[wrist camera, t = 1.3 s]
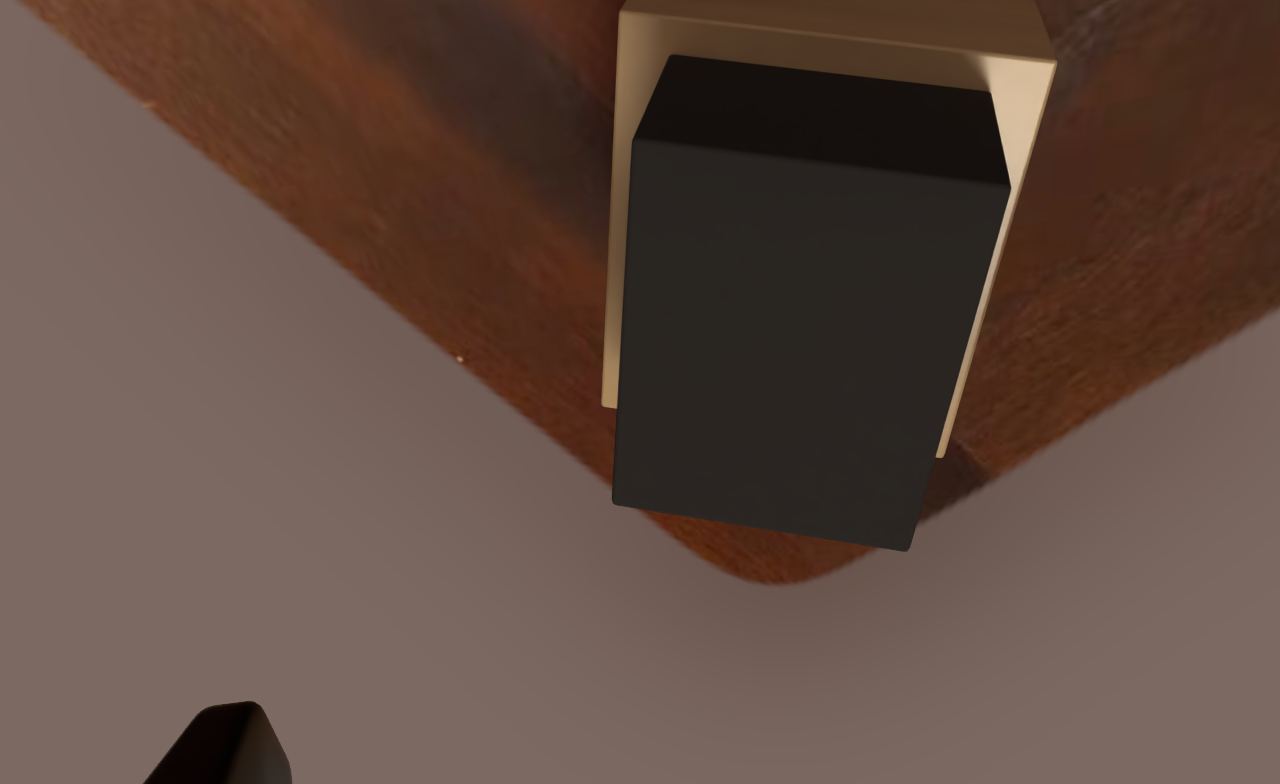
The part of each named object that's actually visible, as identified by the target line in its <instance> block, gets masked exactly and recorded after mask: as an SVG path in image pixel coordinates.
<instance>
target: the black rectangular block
mask: <svg viewBox="0 0 1280 784" xmlns="http://www.w3.org/2000/svg"><path fill="white" fill-rule="evenodd" d="M1011 189H1012V188H1011V183H1010V178H1009V173H1008V169H1007V164H1006V159H1005V155H1004V150H1003V145H1002V141H1001V136H1000V131H999V127H998V122H997V117H996V112H995V108H994V103H993V98H992V94H991V93H990V92H988V91H980V90H972V89H963V88H955V87H946V86H938V85H930V84H921V83H913V82H904V81H896V80H887V79H879V78H870V77H862V76H853V75H845V74H836V73H828V72H819V71H811V70H802V69H794V68H785V67H777V66H768V65H760V64H751V63H743V62H734V61H726V60H717V59H709V58H700V57H692V56H683V55H675V54H673V55H669V57H668V59H667V62H666V64H665V66H664V69H663V71H662V73H661V75H660V78H659V80H658V82H657V85H656V87H655V89H654V91H653V94H652V96H651V98H650V100H649V103H648V105H647V107H646V110H645V112H644V114H643V116H642V119H641V121H640V123H639V126H638V128H637V130H636V132H635V135H634V137H633V139H632V146H631V164H630V182H629V200H628V218H627V236H626V254H625V272H624V290H623V308H622V326H621V344H620V362H619V380H618V398H617V416H616V433H615V451H614V469H613V487H612V501H613V504H615V505H618V506H625V507H631V508H637V509H643V510H649V511H656V512H662V513H668V514H674V515H680V516H687V517H693V518H699V519H705V520H711V521H718V522H724V523H730V524H736V525H742V526H748V527H755V528H761V529H767V530H773V531H779V532H786V533H792V534H798V535H804V536H810V537H817V538H823V539H829V540H835V541H841V542H848V543H854V544H860V545H866V546H872V547H879V548H885V549H891V550H898V551H903V552H905V551H908V549H909V548H910V545H911V542H912V538H913V535H914V531H915V528H916V524H917V521H918V517H919V514H920V510H921V507H922V503H923V500H924V496H925V493H926V489H927V486H928V482H929V478H930V475H931V471H932V468H933V464H934V461H935V457H936V454H937V450H938V447H939V443H940V440H941V436H942V433H943V429H944V426H945V422H946V419H947V415H948V412H949V408H950V404H951V401H952V397H953V394H954V390H955V387H956V383H957V380H958V376H959V373H960V369H961V366H962V362H963V359H964V355H965V352H966V348H967V345H968V341H969V337H970V334H971V330H972V327H973V323H974V320H975V316H976V313H977V309H978V306H979V302H980V299H981V295H982V292H983V288H984V285H985V281H986V278H987V274H988V271H989V267H990V263H991V260H992V256H993V253H994V249H995V246H996V242H997V239H998V235H999V232H1000V228H1001V225H1002V221H1003V218H1004V214H1005V211H1006V207H1007V204H1008V200H1009V196H1010V193H1011Z"/></svg>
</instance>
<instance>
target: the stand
mask: <svg viewBox="0 0 1280 784" xmlns="http://www.w3.org/2000/svg"><path fill="white" fill-rule="evenodd" d="M673 54H675V55H683V56H692V57H700V58H709V59H717V60H726V61H734V62H743V63H751V64H760V65H768V66H777V67H785V68H794V69H802V70H811V71H819V72H828V73H836V74H845V75H853V76H862V77H870V78H879V79H887V80H896V81H904V82H913V83H921V84H930V85H938V86H946V87H955V88H963V89H972V90H980V91H988V92H990V93H991V94H992V98H993V103H994V108H995V112H996V117H997V122H998V127H999V131H1000V136H1001V141H1002V145H1003V150H1004V155H1005V159H1006V164H1007V169H1008V173H1009V178H1010V183H1011V188H1012V189H1011V193H1010V196H1009V200H1008V204H1007V207H1006V211H1005V214H1004V218H1003V221H1002V225H1001V228H1000V232H999V235H998V239H997V242H996V246H995V249H994V253H993V256H992V260H991V263H990V267H989V271H988V274H987V278H986V281H985V285H984V288H983V292H982V295H981V299H980V302H979V306H978V309H977V313H976V316H975V320H974V323H973V327H972V330H971V334H970V337H969V341H968V345H967V348H966V352H965V355H964V359H963V362H962V366H961V369H960V373H959V376H958V380H957V383H956V387H955V390H954V394H953V397H952V401H951V404H950V408H949V412H948V415H947V419H946V422H945V426H944V429H943V433H942V436H941V440H940V443H939V447H938V450H937V454H936V457H938V458H943V456H944V454H945V451H946V447H947V444H948V441H949V437H950V434H951V430H952V427H953V423H954V420H955V416H956V413H957V409H958V406H959V403H960V399H961V396H962V392H963V389H964V385H965V382H966V378H967V375H968V371H969V368H970V365H971V361H972V358H973V354H974V351H975V347H976V344H977V340H978V337H979V333H980V330H981V327H982V323H983V320H984V316H985V313H986V309H987V306H988V302H989V299H990V295H991V292H992V289H993V285H994V282H995V278H996V275H997V271H998V268H999V264H1000V261H1001V257H1002V254H1003V251H1004V247H1005V244H1006V240H1007V237H1008V233H1009V230H1010V226H1011V223H1012V219H1013V216H1014V213H1015V209H1016V206H1017V202H1018V199H1019V195H1020V192H1021V188H1022V185H1023V181H1024V178H1025V175H1026V171H1027V168H1028V164H1029V161H1030V157H1031V154H1032V150H1033V147H1034V143H1035V140H1036V137H1037V133H1038V130H1039V126H1040V123H1041V119H1042V116H1043V112H1044V109H1045V105H1046V102H1047V99H1048V95H1049V92H1050V88H1051V85H1052V81H1053V78H1054V74H1055V71H1056V67H1057V64H1058V62H1057V58H1056V56H1055V53H1054V50H1053V47H1052V45H1051V42H1050V39H1049V36H1048V34H1047V31H1046V28H1045V25H1044V23H1043V20H1042V17H1041V14H1040V11H1039V9H1038V6H1037V3H1036V0H626V2H625V3H624V5H623V7H622V8H621V10H620V12H619V22H618V44H617V66H616V88H615V111H614V133H613V155H612V178H611V200H610V222H609V244H608V267H607V289H606V311H605V333H604V356H603V378H602V400H601V403H602V406H604V407H610V408H616V409H617V398H618V380H619V362H620V344H621V326H622V308H623V290H624V272H625V254H626V236H627V218H628V200H629V182H630V164H631V146H632V139H633V137H634V135H635V132H636V130H637V128H638V126H639V123H640V121H641V119H642V116H643V114H644V112H645V110H646V107H647V105H648V103H649V100H650V98H651V96H652V94H653V91H654V89H655V87H656V85H657V82H658V80H659V78H660V75H661V73H662V71H663V69H664V66H665V64H666V62H667V59H668V57H669V55H673Z"/></svg>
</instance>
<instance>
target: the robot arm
mask: <svg viewBox="0 0 1280 784" xmlns="http://www.w3.org/2000/svg"><path fill="white" fill-rule="evenodd" d="M143 784H292V776H291V769H290V765H289V761H288V759H287V757H286V754H285V752H284V750H283V748H282V746H281V744H280V742H279V740H278V738H277V736H276V734H275V732H274V730H273V728H272V726H271V724H270V722H269V720H268V718H267V716H266V714H265V712H264V710H263V709H262V707H261V706H260V705H258V704H257V703H255V702H252V701H246V702H238V703H230V704H222V705H215V706H211V707H208V708H205V709H204V710H202V711H201V712H200V713H198V714H197V715H196V716H195V718H194V719H193V720H192V721H191V723H190V724H189V725H188V726H187V728H186V729H185V730H184V732H183V733H182V734H181V736H180V737H179V738H178V739H177V741H176V742H175V743H174V744H173V746H172V747H171V748H170V750H169V751H168V752H167V753H166V755H165V756H164V757H163V759H162V760H161V761H160V762H159V764H158V765H157V767H156V768H155V769H154V770H153V771H152V773H151V774H150V775H149V777H148V778H147V779H146V780H145V782H144V783H143Z"/></svg>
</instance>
